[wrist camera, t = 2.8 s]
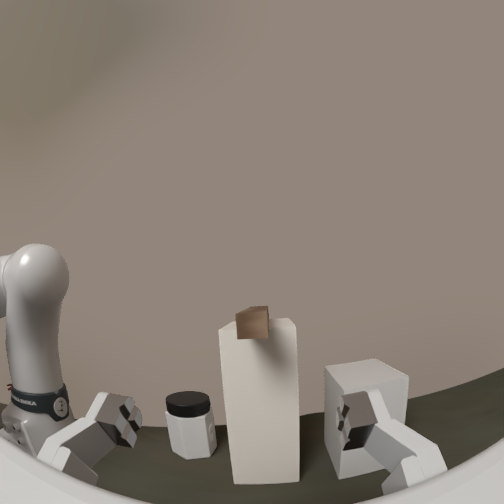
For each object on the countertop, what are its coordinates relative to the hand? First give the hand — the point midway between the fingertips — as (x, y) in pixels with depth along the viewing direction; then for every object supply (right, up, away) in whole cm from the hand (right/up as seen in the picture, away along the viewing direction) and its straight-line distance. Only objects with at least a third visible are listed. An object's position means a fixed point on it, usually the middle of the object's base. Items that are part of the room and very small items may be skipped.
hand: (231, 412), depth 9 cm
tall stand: (+3, -31, +28) cm, 41 cm away
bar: (+1, -4, +27) cm, 28 cm away
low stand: (+19, -29, +26) cm, 44 cm away
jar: (-10, -32, +32) cm, 47 cm away
